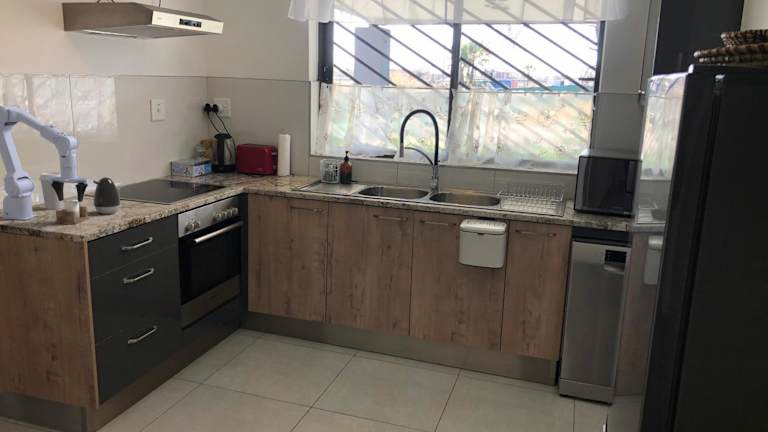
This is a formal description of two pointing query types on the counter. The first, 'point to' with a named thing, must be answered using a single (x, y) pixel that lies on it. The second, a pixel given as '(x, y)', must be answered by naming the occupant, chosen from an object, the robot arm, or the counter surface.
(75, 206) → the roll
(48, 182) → the coffee cup
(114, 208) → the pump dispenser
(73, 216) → the holder
